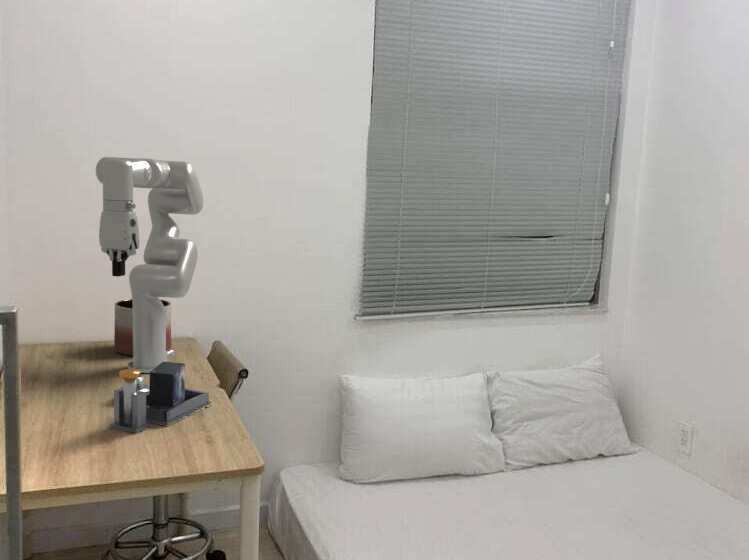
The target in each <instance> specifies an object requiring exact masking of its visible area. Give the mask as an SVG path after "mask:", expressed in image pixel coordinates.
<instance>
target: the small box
mask: <svg viewBox="0 0 749 560" xmlns="http://www.w3.org/2000/svg"><path fill="white" fill-rule="evenodd" d="M148 386H149V406H152V407H156V408H161V409H166V410H167V409H169V408H171V407H174V406H176V405H178V404H180V403H183V402H184V401H185V388H186V363H183V362H172V361H169V362H164V361H163V362H162V363H161V364H159V365H158V366H157V367H156V368H154V369H153V370H152V371H150V373H149V384H148Z"/></svg>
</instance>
